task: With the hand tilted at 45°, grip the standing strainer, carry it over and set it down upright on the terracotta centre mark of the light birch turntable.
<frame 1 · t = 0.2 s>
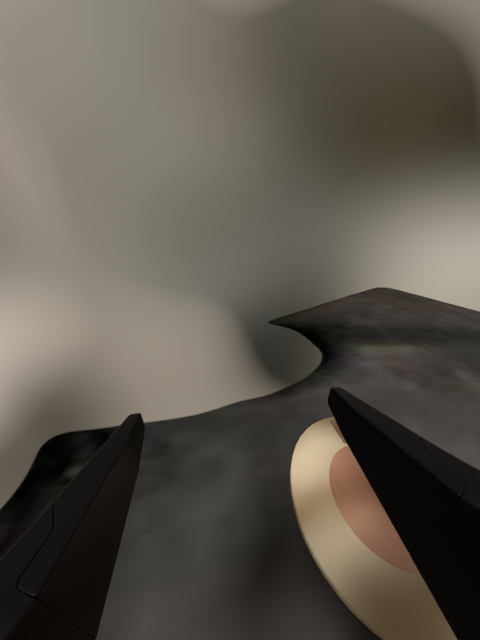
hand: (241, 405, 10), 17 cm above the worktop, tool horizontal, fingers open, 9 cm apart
turntable: (381, 497, 19), point 2 cm above the worktop, hinge at 0.0°
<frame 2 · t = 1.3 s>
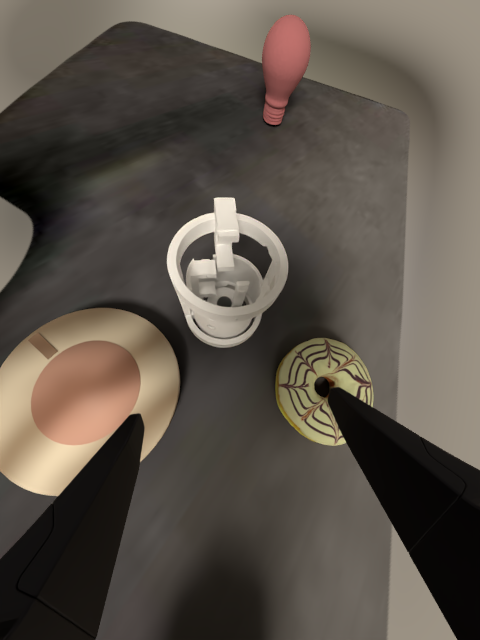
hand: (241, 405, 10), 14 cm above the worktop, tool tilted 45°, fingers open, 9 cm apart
decorated donut: (315, 387, 25), on the worktop
turntable: (91, 388, 19), point 2 cm above the worktop, hinge at 0.0°
light bulb: (271, 125, 40), on the worktop
strainer: (221, 328, 25), on the worktop
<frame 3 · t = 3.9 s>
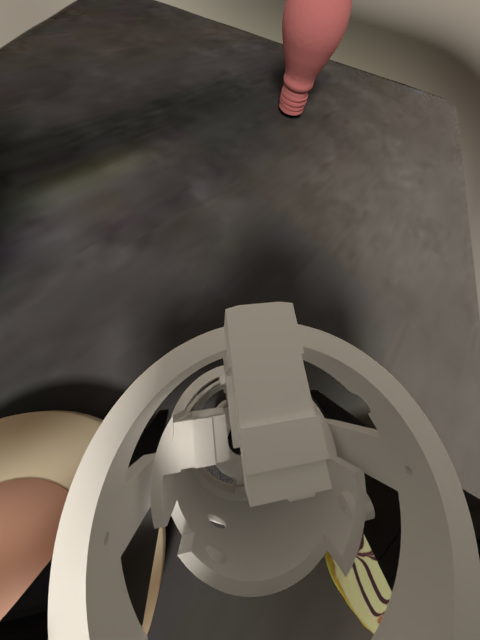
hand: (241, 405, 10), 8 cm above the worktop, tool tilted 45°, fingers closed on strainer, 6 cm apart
decorated donut: (376, 513, 16), on the worktop
turntable: (4, 577, 11), point 2 cm above the worktop, hinge at 0.0°
light bulb: (288, 116, 31), on the worktop
strainer: (231, 418, 17), on the worktop, touching gripper
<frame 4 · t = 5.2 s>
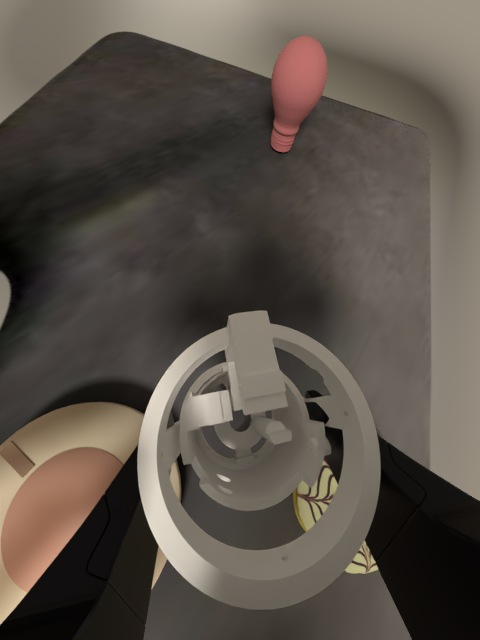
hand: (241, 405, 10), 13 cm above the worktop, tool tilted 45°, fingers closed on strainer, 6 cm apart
decorated donut: (336, 478, 21), on the worktop
turntable: (75, 511, 16), point 2 cm above the worktop, hinge at 0.0°
light bulb: (279, 151, 36), on the worktop
strainer: (230, 413, 19), point 3 cm above the worktop, touching gripper
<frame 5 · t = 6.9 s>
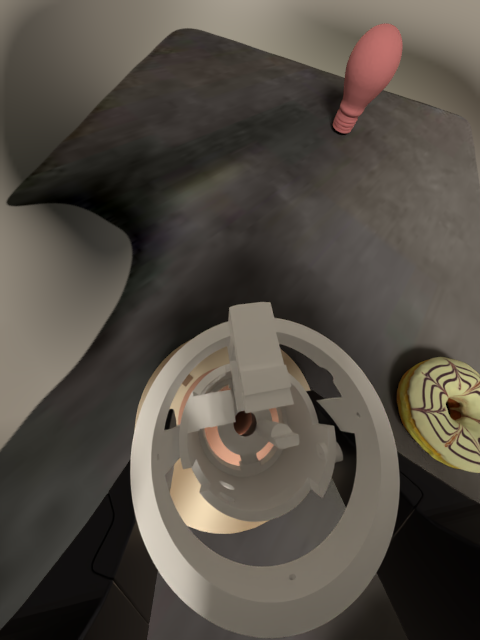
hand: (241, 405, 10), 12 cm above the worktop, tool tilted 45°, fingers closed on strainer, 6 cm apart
decorated donut: (430, 408, 24), on the worktop
turntable: (230, 416, 19), point 2 cm above the worktop, hinge at 0.1°, touching strainer
light bulb: (339, 133, 39), on the worktop
strainer: (236, 417, 18), point 3 cm above the worktop, touching gripper, turntable
when the fingers open (12 cm above the worktop, at t = 6.9 s): strainer stays where it is, resting on turntable.
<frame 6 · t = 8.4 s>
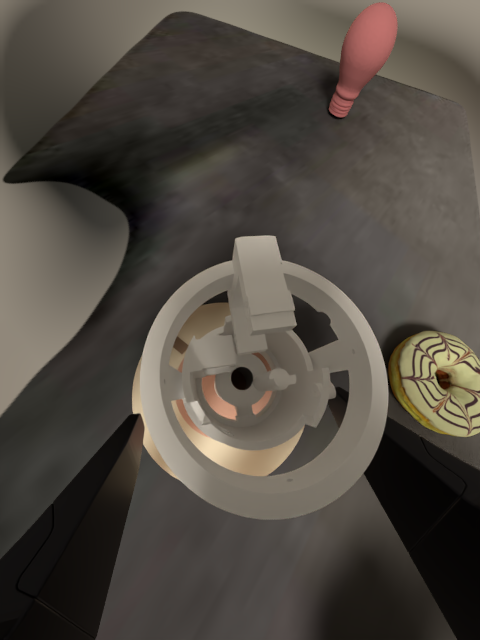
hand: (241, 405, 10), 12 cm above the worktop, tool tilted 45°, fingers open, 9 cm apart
decorated donut: (421, 380, 25), on the worktop
turntable: (225, 383, 19), point 2 cm above the worktop, hinge at 0.1°, touching strainer
light bulb: (335, 117, 39), on the worktop
strainer: (231, 383, 19), point 3 cm above the worktop, touching turntable
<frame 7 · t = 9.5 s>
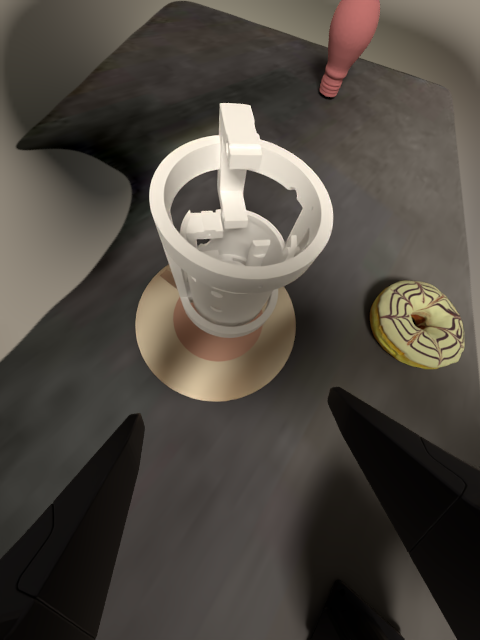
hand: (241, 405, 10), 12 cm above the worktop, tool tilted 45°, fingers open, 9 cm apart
decorated donut: (401, 327, 27), on the worktop
turntable: (219, 318, 21), point 2 cm above the worktop, hinge at 0.1°, touching strainer
light bulb: (325, 97, 41), on the worktop
strainer: (224, 317, 21), point 3 cm above the worktop, touching turntable
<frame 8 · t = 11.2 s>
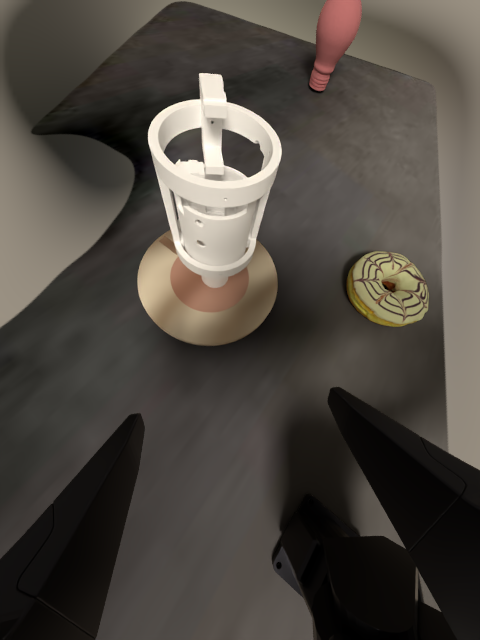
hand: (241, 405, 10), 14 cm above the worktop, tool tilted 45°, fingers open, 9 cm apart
decorated donut: (375, 294, 30), on the worktop
turntable: (210, 278, 25), point 2 cm above the worktop, hinge at 0.1°, touching strainer
light bulb: (315, 91, 44), on the worktop
strainer: (214, 277, 24), point 3 cm above the worktop, touching turntable
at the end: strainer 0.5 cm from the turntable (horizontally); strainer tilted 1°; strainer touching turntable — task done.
